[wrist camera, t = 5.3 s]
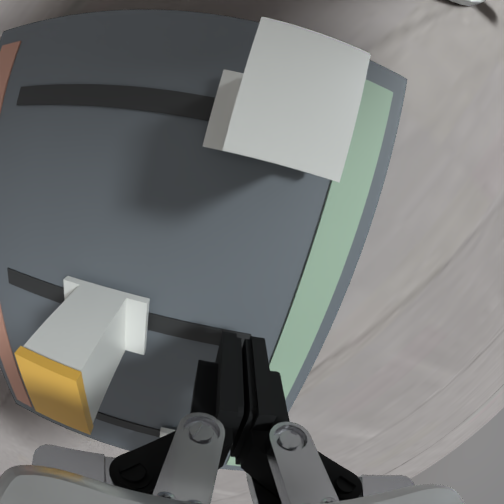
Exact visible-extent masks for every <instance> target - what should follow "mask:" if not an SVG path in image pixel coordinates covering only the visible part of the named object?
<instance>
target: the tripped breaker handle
mask: <svg viewBox="0 0 504 504" xmlns="http://www.w3.org/2000/svg"><path fill="white" fill-rule="evenodd" d="M63 283H64V299H65V301H64V302H63V303H62V304H61V305H60V306H59V307H58V308H57V309H56V310H55V311H54V312H53V313H52V314H51V315H50V316H49V318H48V319H47V320H46V321H45V322H44V323H43V324H42V325H41V326H40V327H39V329H38V330H37V331H36V332H35V333H34V334H33V335H32V336H31V338H30V339H29V340H28V341H27V342H26V343H25V345H24V346H23V347H22V346H20V347H19V348H18V349H17V350H16V352H15V353H14V354H15V357H16V360H17V363H18V366H19V369H20V372H21V375H22V378H23V381H24V383H25V386H26V389H27V391H28V394H29V396H30V399H31V401H32V404H33V406H34V408H35V410H36V411H37V412H39V413H41V414H43V415H45V416H47V417H49V418H51V419H53V420H55V421H58V422H60V423H62V424H64V425H67V426H69V427H72V428H74V429H76V430H79V431H81V432H84V433H87V434H89V435H90V434H91V432H92V429H93V427H94V426H93V422H94V419H95V417H96V415H97V412H98V410H99V407H100V405H101V403H102V400H103V398H104V396H105V394H106V391H107V389H108V387H109V384H110V382H111V380H112V378H113V376H114V373H115V371H116V369H117V367H118V365H119V363H120V360H121V358H122V356H123V354H124V352H125V350H127V351H130V352H134V353H138V354H141V355H144V354H145V351H146V342H147V327H148V314H149V303H150V299H149V298H146V297H142V296H138V295H134V294H130V293H126V292H122V291H119V290H115V289H111V288H108V287H104V286H101V285H97V284H94V283H90V282H87V281H84V280H80V279H77V278H74V277H70V276H67V277H66V278H64V279H63Z"/></svg>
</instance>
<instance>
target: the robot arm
mask: <svg viewBox="0 0 504 504" xmlns="http://www.w3.org/2000/svg"><path fill="white" fill-rule="evenodd" d="M449 1H452V2H455V3H458V4H461V5H466V6H473V5H478V4H480V3H482V2H484V1H486V0H449ZM229 451H230V456H231V457H235V464H236V465H241V468H242V469H243V470H244V471H245V472H246V473H247V474H246V475H247V482H248V486H249V490H250V494H251V498H252V501H253V504H465V502H464V501H463V499H462V497H461V496H460V495H459V494H458V492H456V491H455V490H454V489H452V488H451V487H447V486H444V485H434V484H423V485H414V483H413V481H412V480H411V479H410V478H408V477H407V476H402V475H361V476H360V477H357V476H356V475H355V474H354V473H352V472H350V471H349V470H347V469H345V468H344V467H342V466H340V465H339V464H337V463H335V462H334V461H332V460H331V459H329V458H327V457H326V456H324V455H323V454H321V453H320V452H318V451H317V449H316V447H315V444H314V442H313V440H312V438H311V435H310V434H309V432H308V431H307V430H306V429H305V428H304V427H303V426H301V425H299V424H297V423H293V422H289V416H288V411H287V406H286V401H285V396H284V391H283V386H282V381H281V376H280V373H279V372H277V371H270V368H269V362H268V355H267V349H266V342H265V338H260V337H254V336H250V338H249V339H245V340H244V343H243V346H242V342H241V338H238V337H237V334H236V333H230V332H225V331H223V332H222V335H221V340H220V344H219V348H218V352H217V357H216V361H215V362H209V361H204V360H198V365H197V371H196V376H195V382H194V389H193V396H192V403H191V410H190V414H188V415H186V416H184V417H183V418H182V419H181V421H180V422H179V424H178V427H177V430H175V431H173V432H171V433H169V434H167V435H165V436H163V437H161V438H159V439H157V440H154V441H152V442H150V443H148V444H146V445H143V446H141V447H139V448H137V449H134V450H132V451H129V452H127V453H125V454H122V455H120V456H118V457H116V458H113V457H105V456H104V454H98V453H92V452H85V451H80V450H74V449H69V448H64V447H59V446H55V445H47V444H45V445H42V446H40V447H38V448H37V449H36V450H35V453H34V455H33V461H32V465H18V466H13V467H11V468H9V469H7V470H6V471H5V472H4V473H3V474H2V475H1V476H0V504H210V503H211V498H212V494H213V489H214V484H215V480H216V475H217V471H218V469H220V468H221V467H223V465H224V463H225V460H226V458H227V456H228V453H229Z"/></svg>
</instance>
